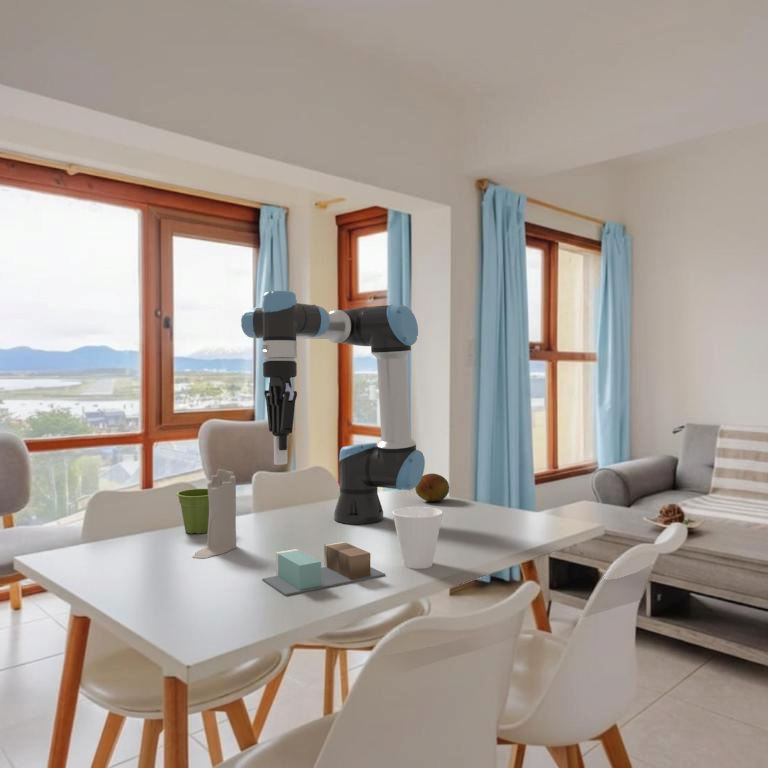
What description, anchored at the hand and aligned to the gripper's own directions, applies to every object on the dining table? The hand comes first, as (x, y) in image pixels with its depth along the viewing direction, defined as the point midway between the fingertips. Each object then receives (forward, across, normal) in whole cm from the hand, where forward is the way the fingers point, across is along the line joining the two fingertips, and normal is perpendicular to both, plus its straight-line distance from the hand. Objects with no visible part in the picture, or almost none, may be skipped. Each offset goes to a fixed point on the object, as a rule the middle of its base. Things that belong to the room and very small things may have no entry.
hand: (280, 464), depth 148 cm
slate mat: (+24, +10, +6) cm, 27 cm away
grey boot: (+25, -25, -7) cm, 36 cm away
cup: (+25, +13, +29) cm, 40 cm away
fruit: (+25, -46, +78) cm, 94 cm away
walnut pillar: (+21, +4, +12) cm, 25 cm away
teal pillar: (+21, +3, 0) cm, 22 cm away
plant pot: (+25, -48, -4) cm, 54 cm away
